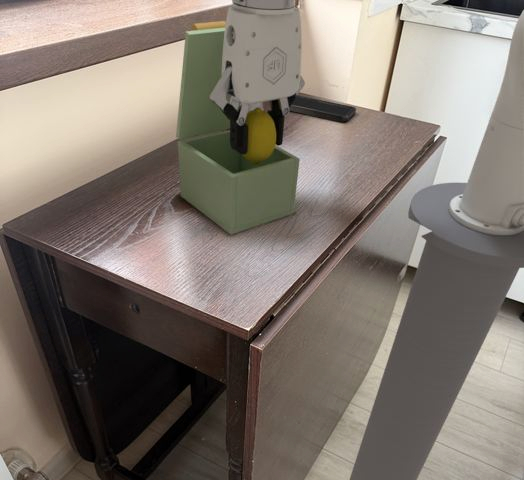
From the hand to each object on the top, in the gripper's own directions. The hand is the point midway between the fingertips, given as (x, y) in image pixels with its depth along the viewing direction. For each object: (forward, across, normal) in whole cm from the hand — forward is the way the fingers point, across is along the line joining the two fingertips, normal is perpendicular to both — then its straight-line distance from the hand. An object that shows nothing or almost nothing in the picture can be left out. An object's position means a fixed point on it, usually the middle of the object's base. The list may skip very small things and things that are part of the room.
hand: (256, 145), depth 73 cm
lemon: (+3, 0, 0) cm, 3 cm away
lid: (-6, -1, +8) cm, 10 cm away
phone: (+10, +41, +29) cm, 51 cm away
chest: (+10, -1, +3) cm, 11 cm away
